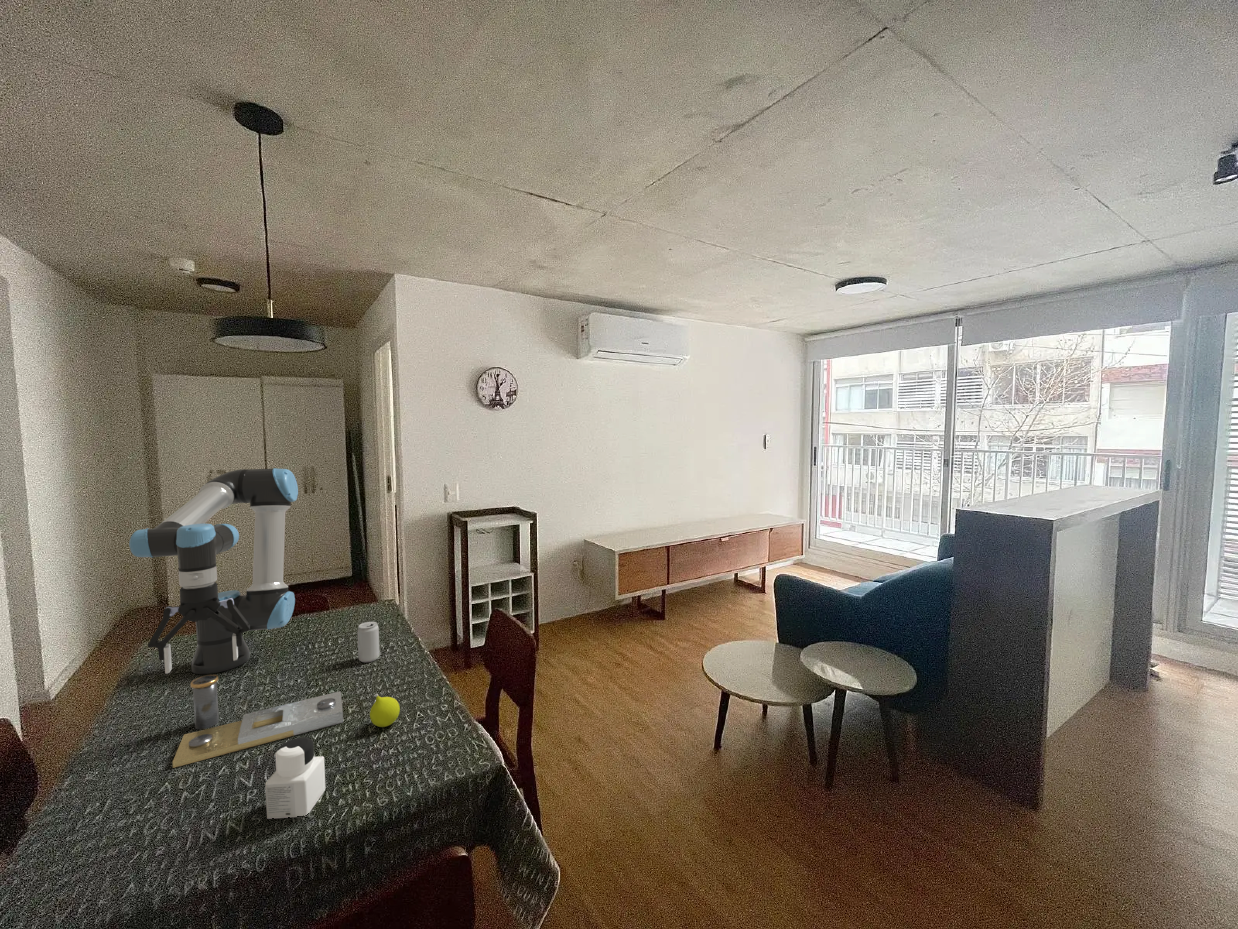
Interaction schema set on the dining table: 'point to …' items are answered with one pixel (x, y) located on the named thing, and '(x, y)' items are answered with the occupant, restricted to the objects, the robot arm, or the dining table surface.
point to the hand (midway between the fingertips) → (203, 664)
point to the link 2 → (294, 717)
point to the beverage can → (368, 642)
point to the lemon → (384, 711)
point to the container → (295, 780)
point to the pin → (205, 701)
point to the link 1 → (220, 742)
